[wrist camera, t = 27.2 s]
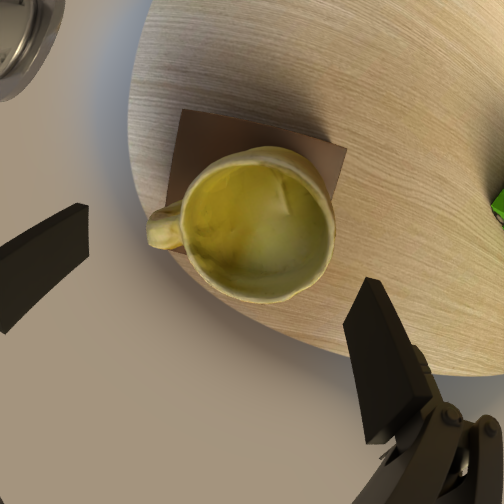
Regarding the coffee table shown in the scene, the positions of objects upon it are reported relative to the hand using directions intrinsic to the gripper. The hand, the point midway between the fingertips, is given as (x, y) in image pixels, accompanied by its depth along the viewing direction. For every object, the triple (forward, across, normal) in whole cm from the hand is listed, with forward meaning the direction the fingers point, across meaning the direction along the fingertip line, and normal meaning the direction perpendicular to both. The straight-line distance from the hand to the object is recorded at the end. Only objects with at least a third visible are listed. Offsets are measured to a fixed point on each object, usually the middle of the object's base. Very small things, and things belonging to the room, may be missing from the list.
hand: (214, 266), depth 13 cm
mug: (+12, 0, 0) cm, 12 cm away
